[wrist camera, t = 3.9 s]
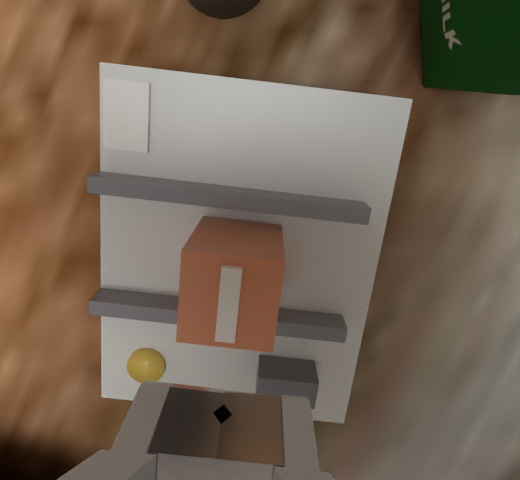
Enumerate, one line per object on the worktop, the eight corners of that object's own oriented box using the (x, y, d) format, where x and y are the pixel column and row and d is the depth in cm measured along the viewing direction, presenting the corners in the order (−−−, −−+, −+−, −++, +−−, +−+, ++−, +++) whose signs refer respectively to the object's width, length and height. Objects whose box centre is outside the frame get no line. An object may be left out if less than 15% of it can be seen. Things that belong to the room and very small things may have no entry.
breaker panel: (383, 101, 18) (429, 97, 13) (331, 370, 22) (350, 451, 17) (135, 72, 18) (79, 56, 13) (130, 348, 22) (86, 422, 17)
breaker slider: (281, 224, 16) (285, 264, 12) (272, 296, 17) (272, 356, 13) (202, 215, 16) (179, 252, 12) (197, 288, 16) (174, 345, 12)
